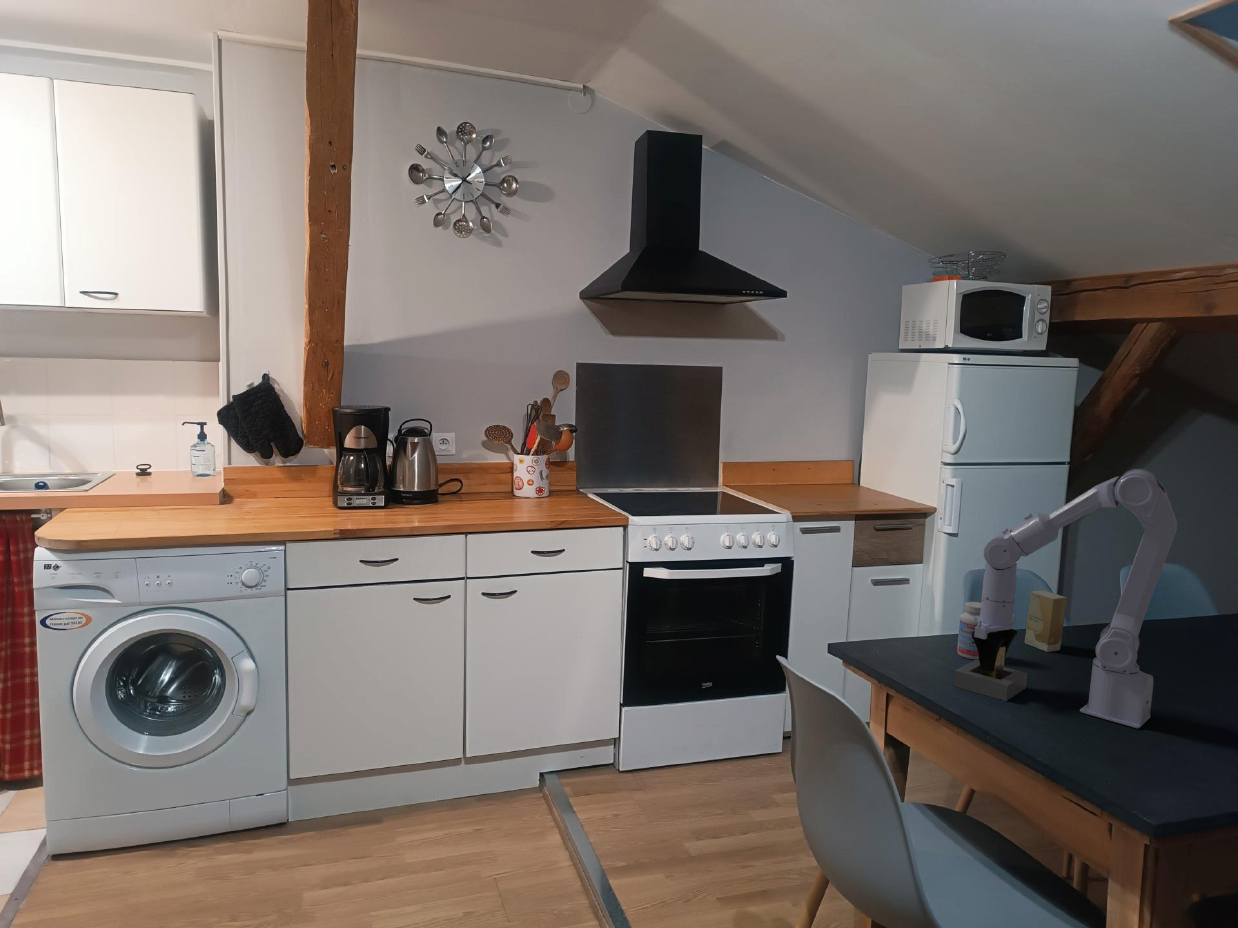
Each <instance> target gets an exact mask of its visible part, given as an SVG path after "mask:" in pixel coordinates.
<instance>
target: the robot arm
mask: <svg viewBox="0 0 1238 928" xmlns="http://www.w3.org/2000/svg"><path fill="white" fill-rule="evenodd" d="M1118 479H1119V480H1118ZM1119 504H1120V505H1121V506H1123V507H1124V508H1125V509H1127V510H1128V511H1129V512H1131V513H1132V514H1133V515H1135V518H1136V519H1137V520H1138V522H1139V523H1140V525H1141V526H1142V528H1143V529H1144V531H1143V535H1142V536H1141V540H1140V543H1139V545H1138V548H1137V550H1136V554H1135V556H1134V559H1133V562H1132V565H1131V567H1130V570H1129V572H1128V576H1127V578H1126V581H1125V584H1124V587H1123V589H1122V592H1121V595H1120V597H1119V600H1118V604H1117V606H1116V609H1115V611H1114V614H1113V617H1112V619H1111V622H1110V623H1109V624H1108V625H1107V626H1106V627H1105V628H1103V629H1102V630H1101V632H1100V635H1099V641H1098V642H1097V644H1096V646H1095V655H1096V657H1094V658H1093V659H1092V669H1091V674H1090V675H1091V678H1090V684H1089V686H1090V687H1089V696H1088V702H1087V703H1086V704H1085V705H1084V706H1083V707H1081V708H1080V709H1079V712H1080V713H1082V714H1086V715H1090V716H1092V717H1097V718H1099V719H1103V720H1106V721H1110V722H1114V723H1118V724H1120V725H1125V726H1128V727H1131V728H1135V729H1140V728H1141V727H1142V726H1143V725H1144V724H1146V722H1147V721H1148V720H1149V719H1150V718H1151V708H1152V700H1153V699H1152V698H1153V691H1154V677H1153V675H1152V674H1148V673H1145V672H1143V671H1142V670H1140V666H1139V664H1138V663H1137V660H1138V651H1139V648H1140V638H1139V636H1140V631H1141V628H1142V625H1143V622H1144V620H1145V616H1146V615H1147V612H1148V609H1149V606H1150V603H1151V601H1152V598H1153V595H1154V592H1155V590H1156V587H1157V584H1158V582H1159V579H1160V576H1161V573H1162V571H1163V569H1164V566H1165V563H1166V561H1167V557H1168V554H1169V552H1170V549H1171V547H1172V544H1173V542H1174V539H1175V536H1176V534H1177V533H1176V532H1177V531H1178V530H1177V529H1178V520H1177V517H1176V515H1175V513H1174V509H1173V507H1172V504H1171V502H1170V499H1169V496H1168V493H1167V490H1166V487H1165V485H1163V484H1162V482H1161V481H1160V480H1159V479H1158V477H1156V476H1155V475H1154V473H1152V472H1150V471H1149V470H1147V469H1144V468H1134V469H1130V470H1128V471H1126V472H1125V473H1124V474H1122V475H1121V477H1119V475H1118V476H1115V477H1113V478H1110V479H1109V480H1106V481H1103V482H1100V483H1099V484H1097V485H1095V486H1093V487H1092V488H1090V489H1089V490H1087V491H1085V492H1084V493H1082V494H1080V495H1079V496H1077V497H1075V498H1074V499H1072V500H1071V501H1069V502H1068V503H1065V504H1064V505H1062V506H1061V507H1060V508H1058V509H1056V510H1054V511H1053V512H1051V513H1050V514H1046V513H1041V512H1036V513H1035V514H1032V513H1029V514H1027V515H1025V516H1024V517H1023V519H1024V520H1023V521H1022V522H1020V523H1018V524H1016V525H1014V526H1013V527H1011V528H1004V529H1002V531H1001V534H1000V535H997V536H995V537H994V538H992V539H991V540H990V541H988V542H987V543H986V545H984V546H985V547H984V550H983V557H984V560H985V565H984V573H983V580H982V590H981V592H982V593H981V602H980V603H981V611H980V616H975V617H974V618H973V620H974V621H977V622H978V625H977V626H976V627H975V631H973V632H972V638H973V640H974V642H975V644H976V647H977V651H978V656H979V662H980V668H981V669H982V670H986V671H989V672H992V671H993V669H994V667H995V663H996V658H997V654H998V651H999V649H1000V647H1001V645H1004V646H1005V647H1006V648H1005V658H1004V660H1006V656H1007V653H1008V650H1009V648H1010V646H1011V644H1012V642H1013V640H1014V639H1015V638H1016V636H1017V635H1018V630H1016V629H1014V626H1015V622H1016V614H1015V615H1014V608H1015V597H1016V588H1017V568H1018V567H1017V565H1018V563H1017V562H1018V561H1019V560H1020V558H1021V557H1028V556H1029V555H1031V554H1033V553H1035V552H1036V551H1038V550H1041V549H1042V548H1043V547H1045V546H1047V545H1050V544H1051V543H1053V542H1054V541H1056V540H1058V537H1059V531H1060V529H1062V528H1064V527H1066V526H1067V525H1070V524H1071V523H1073V522H1076V521H1077V520H1079V519H1081V518H1082V517H1085V516H1087V515H1088V514H1090V513H1093V512H1094V511H1096V510H1097V509H1101V508H1103V509H1104V508H1106V509H1108V508H1109V509H1110V508H1111V509H1112V508H1113V509H1115V508H1116V509H1117V507H1119Z"/></svg>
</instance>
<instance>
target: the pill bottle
mask: <svg viewBox="0 0 1238 928" xmlns="http://www.w3.org/2000/svg"><path fill="white" fill-rule="evenodd" d="M964 611H965V612H963V613H962V614H961V615H960V618H959V627H958V636H957V637H958V638H957V648H956V649H957V650H956V653H957V654H958V655H959V656H960V657H963V658H964V659H965V658H966V659H969V660H979V656H978V651H977V647H976V644H975V642H974V640H973V638H972V632H973V631H975V627H976V626H977V625H978V622H977V621H974V620H973V618H974V617H975V616H980V611H981V602H979V601H967V602H965V604H964Z"/></svg>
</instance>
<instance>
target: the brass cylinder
mask: <svg viewBox="0 0 1238 928" xmlns="http://www.w3.org/2000/svg"><path fill="white" fill-rule="evenodd" d="M1005 648H1006V647H1005V646H1004V645H1001V647H1000V649H999V651H998V654H997V658H996V663H995V667H994V669H993V671H992V672H989V671H986V670H982V669H980V674H981V675H984V676H988V677H991V678H995V679H1002V678H1003V668H1004V667H1005V659H1006V656H1005ZM1004 658H1005V659H1004Z"/></svg>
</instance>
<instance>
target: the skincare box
mask: <svg viewBox="0 0 1238 928" xmlns="http://www.w3.org/2000/svg"><path fill="white" fill-rule="evenodd" d="M1029 598H1030V599H1029V606H1028V614H1027V621H1026V629H1025V637H1024V638H1025V639H1024V644H1026V645H1028V646H1031V647H1034V648H1036V649H1038V650H1041V651H1044V652H1046V653H1048V652H1057V651H1061V646H1062V637H1063V631H1064V630H1063V629H1064V623H1065V615H1066V609H1067V608H1066V607H1067V601H1068V600H1067V599H1068V597H1066V596H1063V595H1060V594H1057V593H1054V592H1052V591H1048V590H1044V589H1043V590H1033V591H1032V590H1031V591H1030V597H1029Z"/></svg>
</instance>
